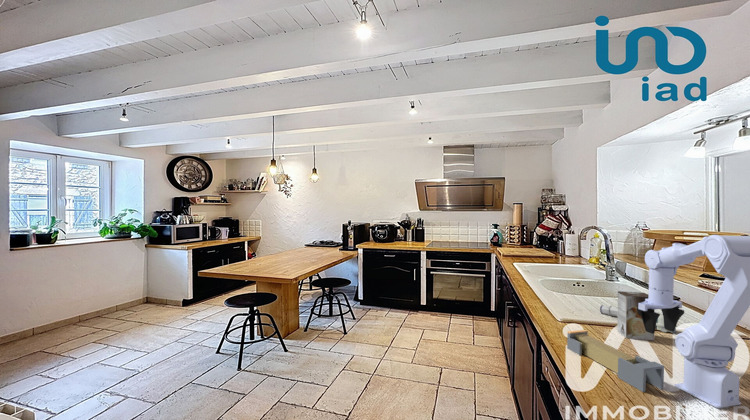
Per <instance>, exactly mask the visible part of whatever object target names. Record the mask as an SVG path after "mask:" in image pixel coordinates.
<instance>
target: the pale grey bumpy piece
mask: <svg viewBox="0 0 750 420" xmlns="http://www.w3.org/2000/svg"><path fill="white" fill-rule="evenodd" d="M599 312H600V314H601V315H607V316H610V317H617V318H618V306H617V307H616V306H613V305H603V304H602V305H600V307H599ZM656 326H657V327H656V330H658V331H661V332H663V333H670V334H672V333H676V332H677V327H678V325H677V324H676V327H675V329H674V332H671V331H669V330H666V329H665V328H664V318H663V314H660V316H659V317H658V319H657V322H656Z"/></svg>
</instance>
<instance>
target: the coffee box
mask: <svg viewBox="0 0 750 420" xmlns="http://www.w3.org/2000/svg"><path fill="white" fill-rule="evenodd" d="M648 295H649V293H645V292H638V291H622V290H620V291H618V290H617V308H618V317H617V329H616V330H617V332H618V333H619V334H620V335H622V336H623V337H624V338H625V339H634V340H646V341H655V333H654V334H652V333H649V332H647V331H646V330H645V327H644V323H643V320H642V318H641V316H640V314H639V313H638V311H637V307H638V305H639V303H642V302H645V299H648ZM655 310H656V309H653V311H654V312H655ZM655 313H656V312H655Z"/></svg>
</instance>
